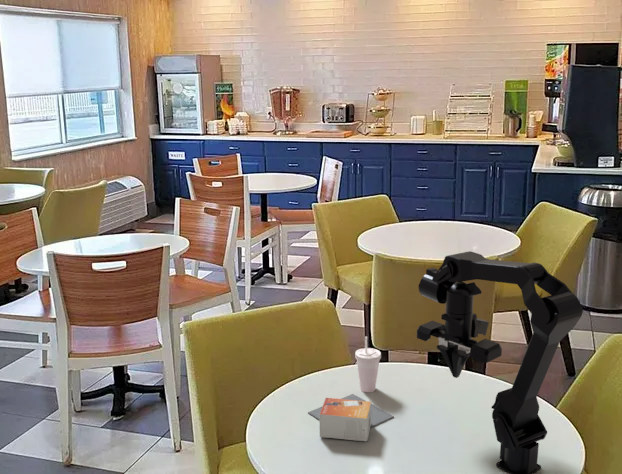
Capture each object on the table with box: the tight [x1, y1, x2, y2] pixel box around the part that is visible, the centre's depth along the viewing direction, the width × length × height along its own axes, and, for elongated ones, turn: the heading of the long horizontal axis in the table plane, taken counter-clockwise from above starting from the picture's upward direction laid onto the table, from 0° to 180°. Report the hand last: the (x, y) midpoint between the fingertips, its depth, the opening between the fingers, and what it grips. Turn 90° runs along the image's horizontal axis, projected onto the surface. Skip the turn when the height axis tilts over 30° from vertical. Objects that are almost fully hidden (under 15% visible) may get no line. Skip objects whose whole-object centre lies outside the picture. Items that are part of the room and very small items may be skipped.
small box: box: [319, 397, 373, 442], centre depth 152 cm, size 8×6×10 cm
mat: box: [307, 393, 395, 429], centre depth 160 cm, size 14×14×1 cm
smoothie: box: [354, 336, 382, 393], centre depth 171 cm, size 6×6×14 cm
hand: (456, 376), depth 152 cm, fingers closed
